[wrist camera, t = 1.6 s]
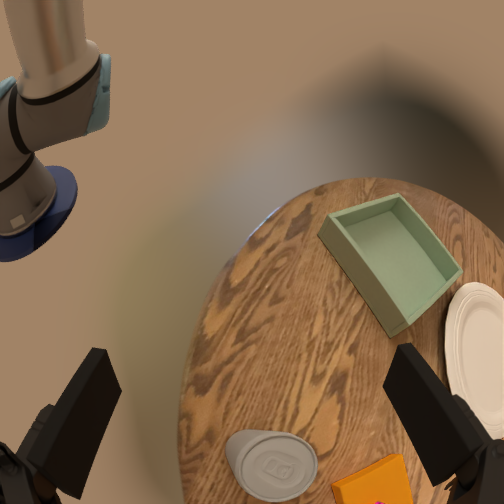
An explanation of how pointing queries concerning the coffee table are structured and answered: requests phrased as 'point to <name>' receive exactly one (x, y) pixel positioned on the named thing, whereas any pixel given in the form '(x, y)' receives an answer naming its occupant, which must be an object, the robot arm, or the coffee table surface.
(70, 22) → the robot arm
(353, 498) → the orange square platform
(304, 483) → the beverage can
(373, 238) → the tray
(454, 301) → the plate
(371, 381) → the coffee table surface
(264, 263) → the coffee table surface
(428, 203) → the coffee table surface
